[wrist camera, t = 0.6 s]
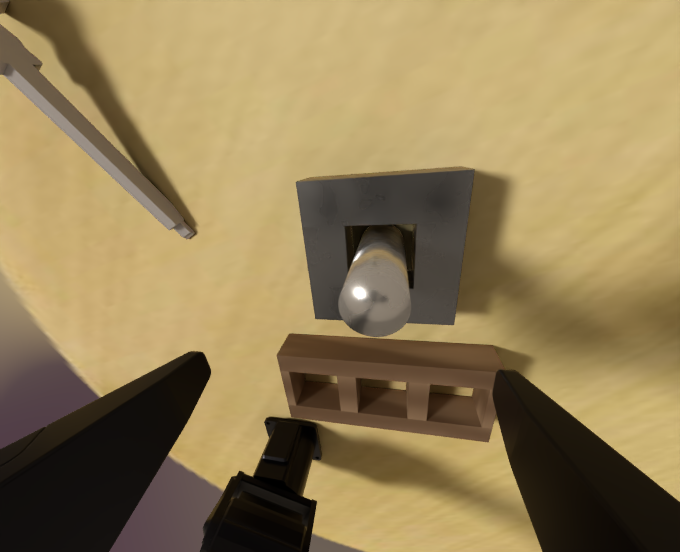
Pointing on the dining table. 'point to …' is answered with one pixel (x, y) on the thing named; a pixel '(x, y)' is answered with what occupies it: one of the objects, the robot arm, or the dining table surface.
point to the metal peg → (377, 284)
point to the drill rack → (393, 365)
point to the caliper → (82, 129)
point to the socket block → (383, 209)
